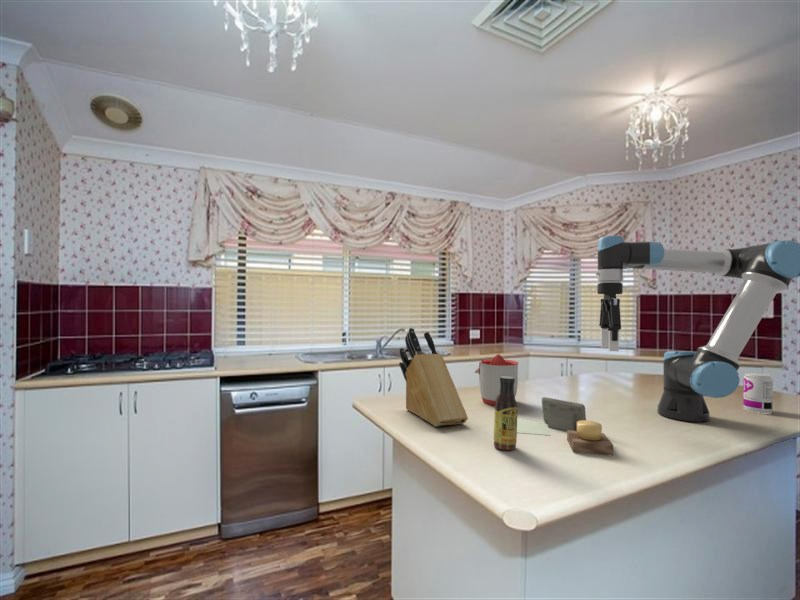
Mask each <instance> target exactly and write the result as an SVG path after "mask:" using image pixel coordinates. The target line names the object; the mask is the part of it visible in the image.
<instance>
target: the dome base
mask: <svg viewBox="0 0 800 600" xmlns="http://www.w3.org/2000/svg"><path fill="white" fill-rule="evenodd" d="M566 441H567V442H568V445H569V447H570V449H571V451H572V452H573V453H574V454H575V453H577V454H586V455H587V454H590V455H599V456H609V455H611V456H612V457H613V456H614V444H613V442H612V441H611V440H610V439H609V438H608V437H607V435H606V434H605V433H604V432H602V439H600V440H583V438H580V437H578V436H577V430H574V431H571V430H567V431H566Z"/></svg>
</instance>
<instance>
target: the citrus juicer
mask: <svg viewBox="0 0 800 600" xmlns="http://www.w3.org/2000/svg"><path fill="white" fill-rule="evenodd" d="M478 363H479V365H478V368H477V369H475V371H474V374H478V376H479V377H478V378H479V381H478V382H479V383H478V384H479V391H480V395H481V399H482V402H483V403H484V404H486V405H489V406H494V407H495V402H496V399H497V397H498V395H499V394H500V377H501V376H509V377H514V379H515V382H514V397H515V398H516V396H517V391H518V381H519V380H518V379H519V378H518V375H519V371H518V366H519V362H518V361H515V360H511V359H510V360H509V359H504V357H503V356H502V355H501V354H499V353H498V354H496V355H495V356H494V357H493V358H487V359H486V358H484V359H481V361H479V362H478Z"/></svg>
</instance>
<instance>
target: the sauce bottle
mask: <svg viewBox="0 0 800 600" xmlns="http://www.w3.org/2000/svg"><path fill="white" fill-rule="evenodd" d="M514 382H515V379H514V377H509V376H501V377H500V394H499V395H498V397H497V399H496V402H495V406H494V407H495V408H494V421H493V422H494V423H493V424H494V425H493V445H494V447H495V448H497V449H498V450H502V451H513V450H515V449H516V447H517V441H518V440H517V437H518V435H517V434H518V433H517V418H518V404H517V401H516V396H515V397H514Z"/></svg>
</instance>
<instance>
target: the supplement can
mask: <svg viewBox="0 0 800 600" xmlns="http://www.w3.org/2000/svg"><path fill="white" fill-rule="evenodd" d="M742 392H743V401H742V402H743V404H742V406H743V409H745V410H748V411H753V412H760V413H772V412H773V413H774V410H773V409H774V408H773V406H774V404H773V403H774V401H773V400H774V399H773V398H774V379H773V377H772V376H771V374H768V373H760V372H746V373H745V374H744V375H743V391H742ZM745 410H744V411H745Z"/></svg>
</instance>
